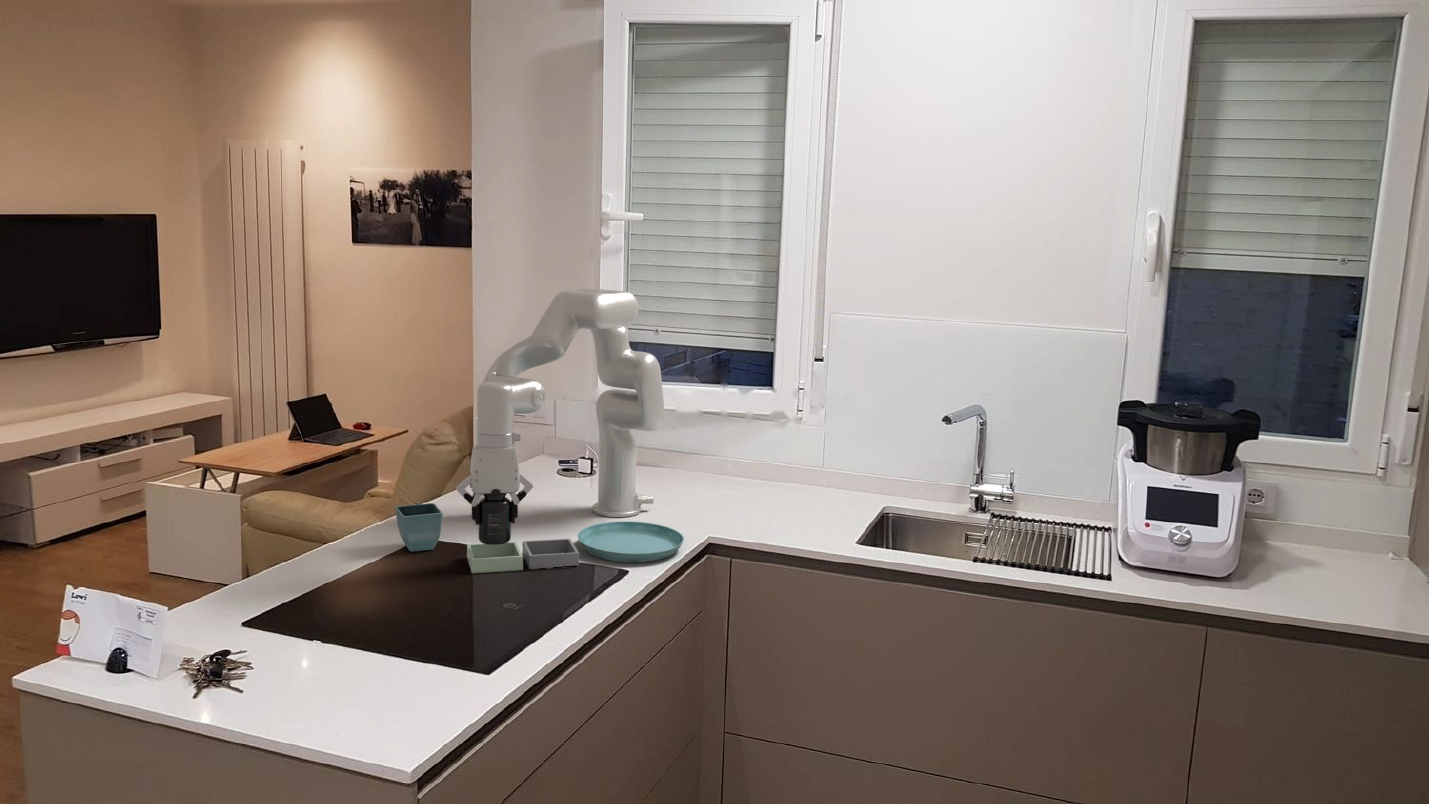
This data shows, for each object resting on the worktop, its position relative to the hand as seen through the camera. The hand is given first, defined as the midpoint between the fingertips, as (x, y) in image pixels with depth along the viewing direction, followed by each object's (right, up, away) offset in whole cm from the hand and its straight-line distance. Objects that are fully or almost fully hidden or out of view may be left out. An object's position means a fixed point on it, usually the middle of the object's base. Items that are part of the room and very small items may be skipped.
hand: (494, 521), depth 225 cm
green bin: (0, -9, +2) cm, 9 cm away
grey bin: (+11, -9, +5) cm, 15 cm away
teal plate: (+28, -9, +16) cm, 33 cm away
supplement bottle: (0, -4, +1) cm, 5 cm away
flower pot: (-19, -7, +10) cm, 23 cm away
